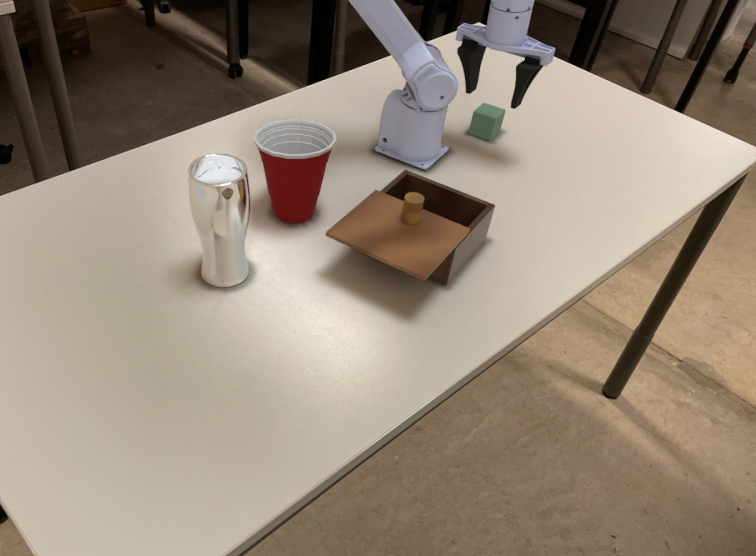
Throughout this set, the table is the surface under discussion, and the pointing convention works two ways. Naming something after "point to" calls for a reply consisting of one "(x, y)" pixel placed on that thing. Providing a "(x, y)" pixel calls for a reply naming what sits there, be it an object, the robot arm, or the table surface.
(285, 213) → the plastic cup
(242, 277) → the beer glass
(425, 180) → the box
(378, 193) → the lid
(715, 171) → the table surface
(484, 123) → the block
